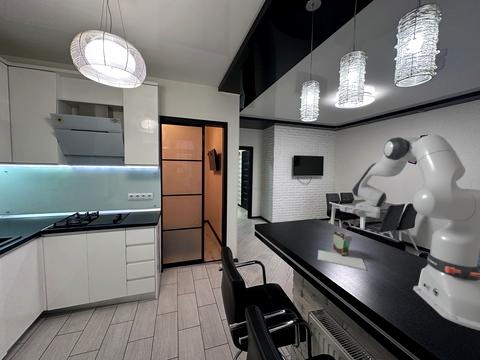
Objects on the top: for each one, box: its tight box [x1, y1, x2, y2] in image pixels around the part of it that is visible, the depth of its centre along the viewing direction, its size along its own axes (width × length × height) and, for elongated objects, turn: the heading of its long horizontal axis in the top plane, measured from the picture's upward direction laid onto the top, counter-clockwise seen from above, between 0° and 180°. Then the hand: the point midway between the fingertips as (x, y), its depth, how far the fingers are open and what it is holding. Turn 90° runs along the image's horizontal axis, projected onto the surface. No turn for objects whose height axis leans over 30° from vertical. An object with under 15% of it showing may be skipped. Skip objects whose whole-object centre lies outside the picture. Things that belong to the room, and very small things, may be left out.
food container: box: [332, 230, 353, 256], centre depth 101 cm, size 12×6×10 cm, turn 179°
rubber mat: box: [317, 249, 367, 271], centre depth 94 cm, size 12×20×1 cm, turn 66°
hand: (354, 212), depth 108 cm, fingers closed
